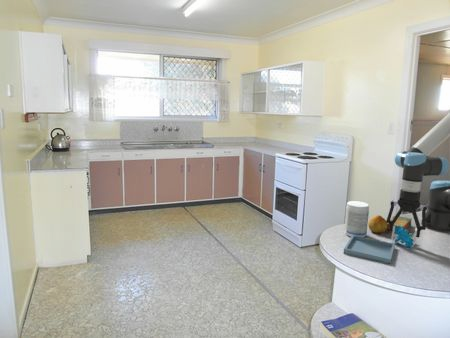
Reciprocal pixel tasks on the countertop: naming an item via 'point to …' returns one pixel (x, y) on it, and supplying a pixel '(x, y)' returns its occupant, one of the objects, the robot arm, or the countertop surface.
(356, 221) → the supplement tub
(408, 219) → the carton
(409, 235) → the gear
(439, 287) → the countertop surface
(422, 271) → the countertop surface
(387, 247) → the tray
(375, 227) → the fruit
